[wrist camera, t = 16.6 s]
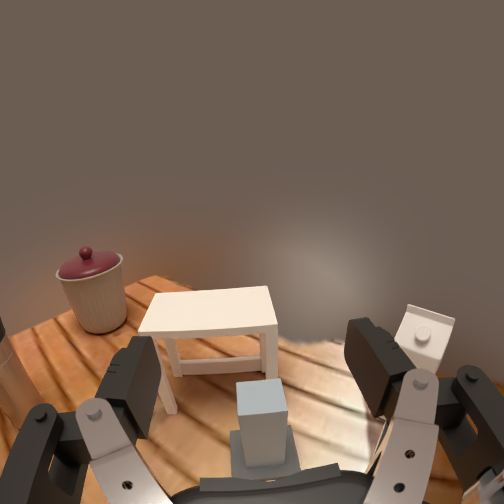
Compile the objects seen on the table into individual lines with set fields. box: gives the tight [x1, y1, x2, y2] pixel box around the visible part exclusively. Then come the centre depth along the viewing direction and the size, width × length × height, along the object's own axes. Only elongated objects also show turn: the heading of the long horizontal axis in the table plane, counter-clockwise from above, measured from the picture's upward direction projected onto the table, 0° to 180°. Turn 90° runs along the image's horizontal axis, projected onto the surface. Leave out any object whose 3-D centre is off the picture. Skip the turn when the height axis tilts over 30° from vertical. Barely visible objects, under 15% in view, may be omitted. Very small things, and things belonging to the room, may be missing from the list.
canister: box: [56, 246, 127, 334], centre depth 62 cm, size 18×18×21 cm
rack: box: [138, 286, 278, 414], centre depth 42 cm, size 11×18×17 cm, turn 94°
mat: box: [230, 425, 301, 481], centre depth 32 cm, size 9×9×1 cm
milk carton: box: [371, 304, 455, 420], centre depth 33 cm, size 7×7×19 cm
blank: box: [236, 378, 288, 468], centre depth 29 cm, size 5×5×13 cm
